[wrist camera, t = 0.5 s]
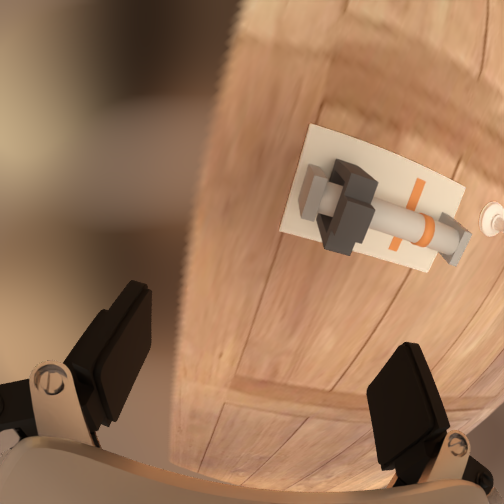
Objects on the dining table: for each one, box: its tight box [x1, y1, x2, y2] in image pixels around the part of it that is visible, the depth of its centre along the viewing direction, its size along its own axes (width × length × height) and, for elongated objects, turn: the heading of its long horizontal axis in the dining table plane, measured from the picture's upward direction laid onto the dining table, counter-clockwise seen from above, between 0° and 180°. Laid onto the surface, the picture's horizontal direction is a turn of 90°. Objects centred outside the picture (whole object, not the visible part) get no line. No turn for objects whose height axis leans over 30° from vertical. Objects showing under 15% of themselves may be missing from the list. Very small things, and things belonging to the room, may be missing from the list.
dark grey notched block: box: [316, 159, 379, 256], centre depth 25 cm, size 2×7×8 cm, turn 167°
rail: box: [279, 123, 472, 273], centre depth 27 cm, size 20×12×7 cm, turn 77°
